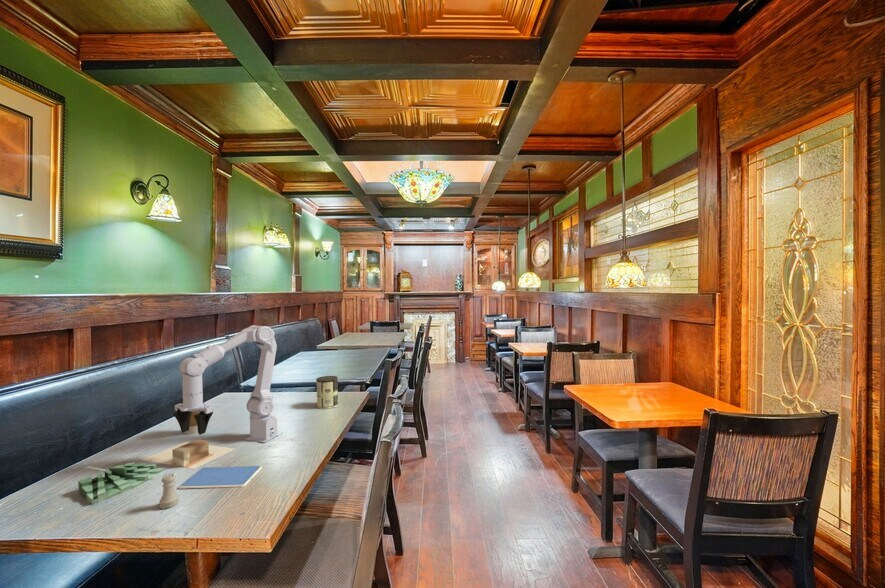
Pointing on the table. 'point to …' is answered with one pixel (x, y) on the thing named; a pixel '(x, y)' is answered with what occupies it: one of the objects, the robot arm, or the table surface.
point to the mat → (167, 458)
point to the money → (116, 481)
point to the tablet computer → (221, 477)
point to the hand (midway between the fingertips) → (193, 432)
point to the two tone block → (190, 452)
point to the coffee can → (327, 392)
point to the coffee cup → (193, 421)
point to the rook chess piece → (168, 492)
